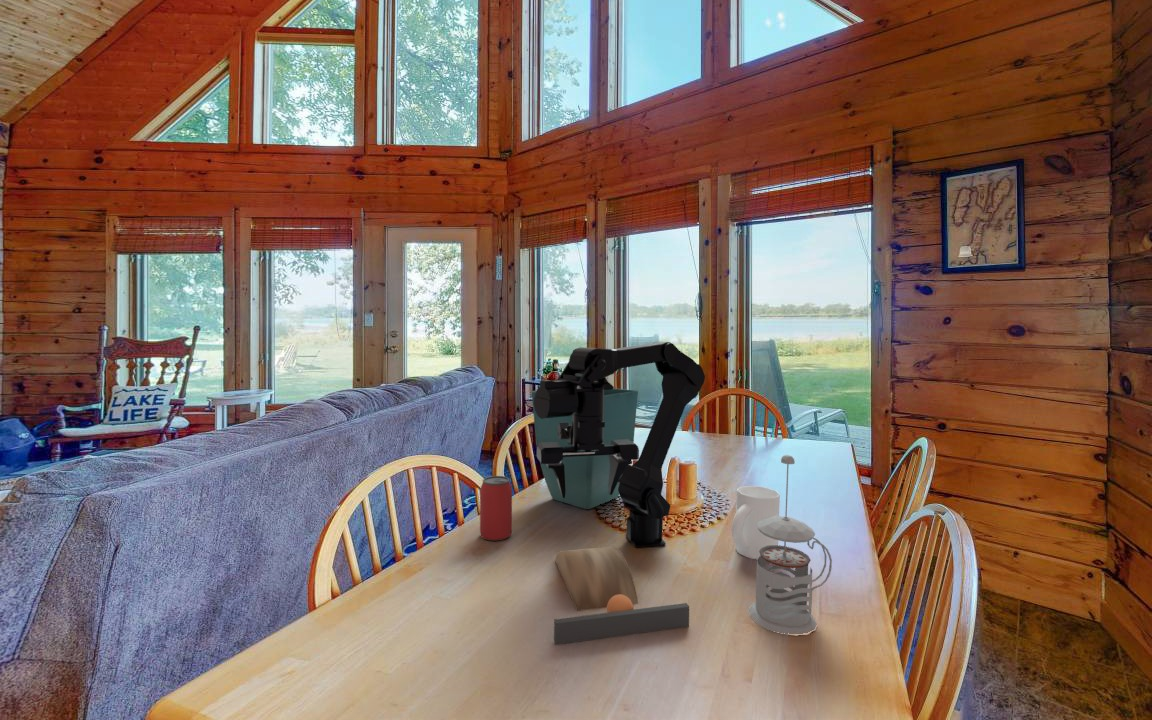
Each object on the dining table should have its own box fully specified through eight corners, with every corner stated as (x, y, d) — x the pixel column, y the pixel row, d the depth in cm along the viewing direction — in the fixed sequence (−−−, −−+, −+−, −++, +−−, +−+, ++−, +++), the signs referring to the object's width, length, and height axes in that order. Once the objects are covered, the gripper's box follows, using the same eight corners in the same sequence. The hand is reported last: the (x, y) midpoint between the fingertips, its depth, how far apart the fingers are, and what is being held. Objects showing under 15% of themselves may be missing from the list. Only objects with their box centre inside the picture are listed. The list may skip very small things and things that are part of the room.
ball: (635, 630, 73) (639, 602, 73) (609, 629, 72) (613, 601, 72) (626, 616, 77) (630, 590, 77) (601, 615, 76) (605, 588, 76)
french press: (740, 599, 81) (744, 447, 80) (812, 601, 81) (818, 448, 80) (760, 635, 72) (766, 462, 70) (842, 638, 71) (850, 464, 70)
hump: (601, 635, 100) (602, 527, 99) (640, 718, 79) (643, 581, 77) (552, 642, 98) (553, 532, 96) (579, 729, 76) (581, 588, 75)
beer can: (505, 543, 102) (505, 485, 101) (475, 540, 103) (475, 483, 102) (515, 531, 108) (516, 476, 107) (487, 528, 109) (487, 474, 109)
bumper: (685, 622, 74) (686, 603, 74) (688, 626, 73) (689, 606, 73) (553, 640, 70) (554, 619, 70) (555, 644, 69) (555, 623, 69)
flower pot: (528, 499, 129) (529, 390, 127) (579, 482, 144) (580, 384, 142) (588, 519, 115) (590, 397, 114) (637, 498, 130) (639, 390, 129)
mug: (714, 554, 98) (715, 494, 97) (748, 539, 105) (749, 483, 105) (752, 570, 91) (754, 505, 91) (785, 552, 99) (787, 493, 98)
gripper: (621, 407, 104) (620, 480, 105) (532, 409, 100) (531, 486, 101) (640, 415, 93) (639, 498, 94) (542, 418, 89) (541, 504, 90)
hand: (587, 495), depth 95 cm, fingers open, 9 cm apart
